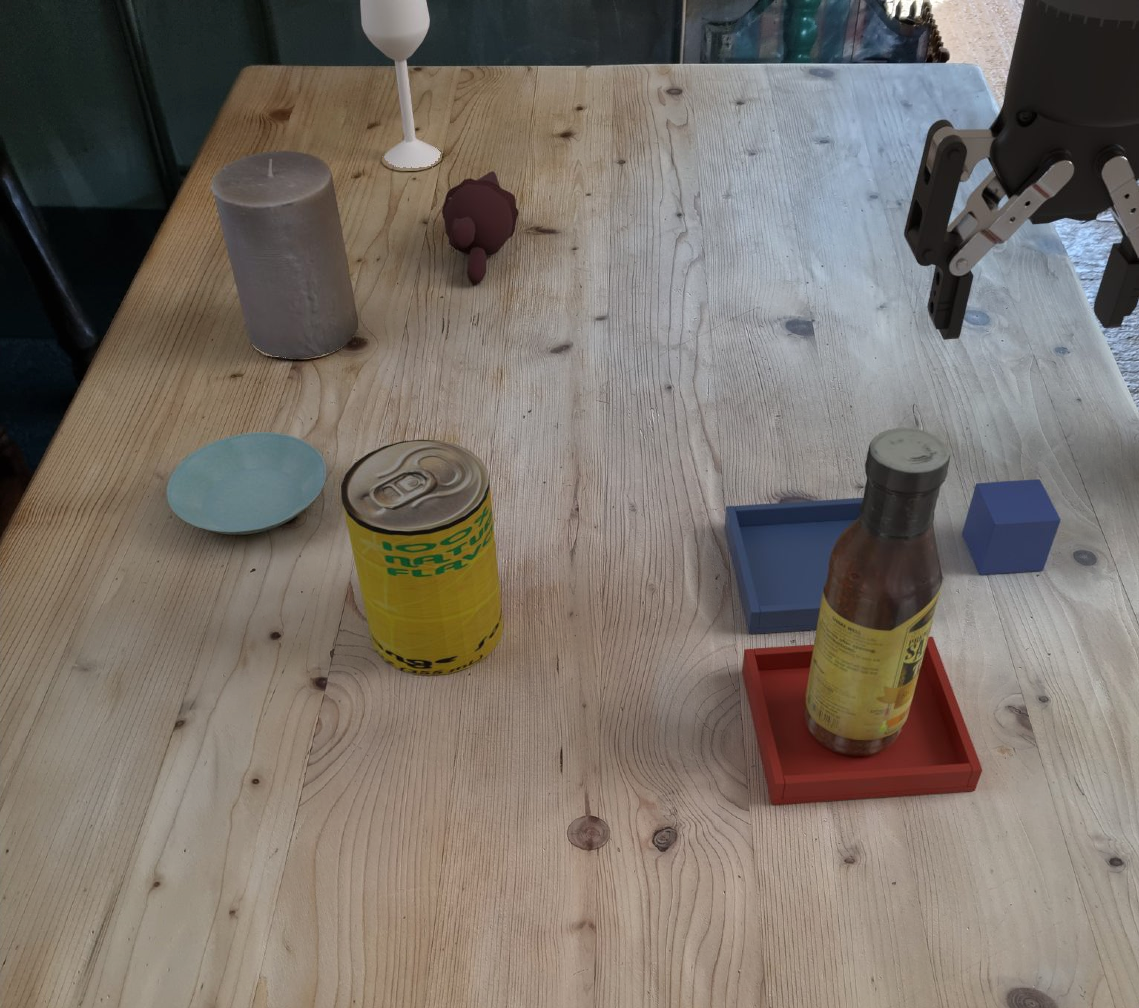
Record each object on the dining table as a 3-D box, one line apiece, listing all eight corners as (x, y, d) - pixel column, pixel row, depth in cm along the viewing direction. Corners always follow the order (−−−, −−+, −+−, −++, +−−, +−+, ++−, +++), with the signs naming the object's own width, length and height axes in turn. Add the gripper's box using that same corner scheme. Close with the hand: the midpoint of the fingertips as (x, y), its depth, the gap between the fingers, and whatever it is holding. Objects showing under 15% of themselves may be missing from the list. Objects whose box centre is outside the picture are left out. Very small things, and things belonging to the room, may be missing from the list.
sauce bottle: (903, 767, 73) (978, 500, 58) (798, 755, 74) (845, 488, 59) (903, 689, 77) (974, 420, 62) (804, 678, 78) (850, 410, 63)
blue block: (1023, 530, 88) (1040, 478, 84) (1043, 571, 85) (1061, 519, 81) (961, 533, 87) (975, 482, 84) (979, 575, 85) (994, 524, 81)
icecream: (444, 146, 117) (413, 235, 108) (516, 129, 114) (490, 218, 106) (469, 213, 122) (441, 303, 113) (539, 198, 120) (515, 288, 111)
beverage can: (530, 625, 82) (520, 480, 73) (430, 696, 78) (406, 552, 69) (443, 566, 87) (422, 422, 78) (344, 630, 83) (310, 486, 74)
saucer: (326, 548, 88) (321, 523, 87) (163, 559, 88) (154, 534, 86) (335, 451, 96) (330, 427, 94) (185, 461, 96) (177, 437, 94)
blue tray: (889, 517, 89) (894, 495, 87) (929, 622, 82) (935, 600, 80) (724, 528, 89) (726, 505, 87) (748, 634, 81) (751, 612, 80)
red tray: (926, 658, 79) (933, 636, 78) (975, 791, 72) (982, 769, 71) (741, 670, 79) (744, 648, 78) (771, 805, 72) (774, 784, 70)
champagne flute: (451, 146, 131) (425, -120, 113) (433, 174, 127) (402, -98, 109) (392, 142, 132) (357, -123, 114) (372, 169, 128) (332, -101, 110)
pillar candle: (329, 293, 112) (297, 123, 100) (378, 339, 106) (350, 165, 95) (231, 326, 109) (186, 154, 97) (276, 375, 103) (234, 199, 92)
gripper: (981, 24, 49) (910, 376, 62) (1326, -1, 50) (1187, 355, 62) (933, -40, 54) (876, 299, 67) (1248, -62, 54) (1133, 280, 67)
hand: (1026, 325), depth 64 cm, fingers open, 8 cm apart
